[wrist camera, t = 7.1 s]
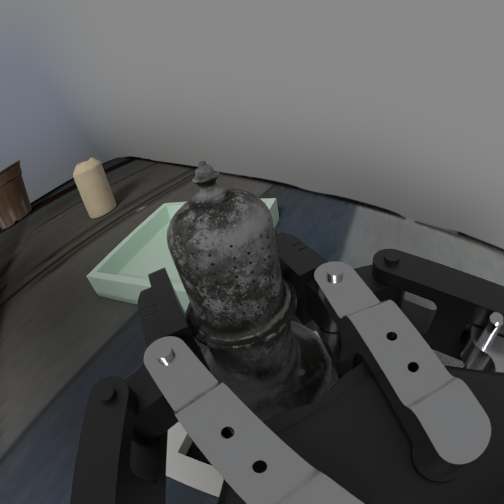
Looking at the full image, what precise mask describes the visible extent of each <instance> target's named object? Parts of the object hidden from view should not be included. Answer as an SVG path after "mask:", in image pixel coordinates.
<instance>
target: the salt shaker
mask: <svg viewBox="0 0 504 504" xmlns="http://www.w3.org/2000/svg"><path fill="white" fill-rule="evenodd" d="M195 175H196V176H195V177H194V178H193V179H192V182H193V183H195V184H198V186H199V190H200V191H199V192H197V193H196V194H195V195H194V196H193V197H192V199H191V200H189V201H188V202H186V203H185V204H184V205H183V206H182V207H181V208H180V209H179V210H178V211H177V212H176V213H175V214H174V215H173V217H172V219H171V221H170V224H169V226H168V229H167V244H168V249H169V251H170V254H171V256H172V259H173V261H174V264H175V266H176V269H177V272H178V274H179V276H180V279H181V281H182V284H183V286H184V289H185V291H186V293H187V296H188V298H189V301H190V302H189V304H188V308H187V311H186V320H187V323H188V325H189V328H190V330H191V332H192V334H193V336H194V337H195V338H196V339H197V340H198V341H199V342H200V343H202V344H205V345H206V346H205V347H204V348H203V349H202V350H201V351H202V353H203V355H204V358H205V360H206V362H207V364H208V366H209V368H210V371H209V372H210V373H211V374H212V375H213V376H214V377H215V379H216V380H217V381H219V382H220V381H222V382H223V383H224V384H225V385H226V386H227V387H228V388H229V389H230V390H231V391H232V392H233V393H234V394H235V395H236V396H237V397H238V398H239V399H240V400H241V401H242V402H243V403H244V404H245V405H246V406H247V407H248V408H249V409H250V410H251V411H252V412H253V413H254V414H255V415H256V416H257V417H258V418H259V419H260V420H261V421H264V420H266V419H268V418H270V417H272V416H274V415H276V414H278V413H280V412H283V411H287V410H291V409H294V408H297V407H301V406H304V405H307V404H311V403H314V402H317V401H319V400H320V399H321V398H322V397H323V396H324V395H325V394H326V392H327V390H328V388H329V386H330V380H331V374H332V365H331V359H330V356H329V354H328V352H327V350H326V348H325V346H324V344H323V342H322V340H321V339H320V338H319V337H318V336H317V335H316V334H315V333H314V332H313V331H312V330H311V329H309V328H307V327H305V326H303V325H302V324H300V323H297V322H294V321H291V319H292V318H293V316H294V315H295V311H296V307H297V295H296V290H295V289H294V287H293V285H292V284H291V283H290V282H289V281H288V280H287V279H286V278H285V277H284V276H282V275H281V269H280V263H279V256H278V250H277V243H276V237H275V231H274V225H273V219H272V215H271V213H270V211H269V209H268V207H267V205H266V204H265V203H264V202H263V201H262V200H261V199H260V198H258V197H257V196H256V195H254V194H252V193H249V192H246V191H243V190H239V189H228V188H226V187H223V186H217V184H216V179H217V178H218V176H219V172H216V171H213V168H212V166H210V165H207V164H206V162H205V161H202V162H200V163H199V167H198V168H197V169H196V171H195Z"/></svg>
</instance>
